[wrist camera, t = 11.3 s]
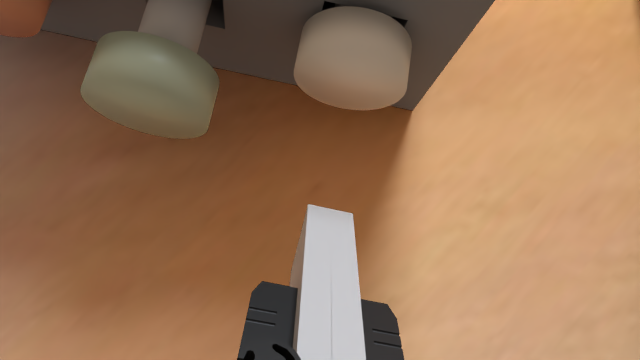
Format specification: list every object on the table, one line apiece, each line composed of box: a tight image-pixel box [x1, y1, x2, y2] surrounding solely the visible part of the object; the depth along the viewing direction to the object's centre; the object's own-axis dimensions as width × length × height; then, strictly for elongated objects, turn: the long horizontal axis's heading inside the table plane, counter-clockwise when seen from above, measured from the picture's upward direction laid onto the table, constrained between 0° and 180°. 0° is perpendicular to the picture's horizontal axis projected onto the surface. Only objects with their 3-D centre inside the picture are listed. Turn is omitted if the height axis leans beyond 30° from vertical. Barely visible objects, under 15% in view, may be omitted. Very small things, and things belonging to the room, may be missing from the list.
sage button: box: [80, 0, 220, 139], centre depth 18 cm, size 4×6×4 cm
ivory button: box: [294, 3, 412, 110], centre depth 20 cm, size 4×6×4 cm
